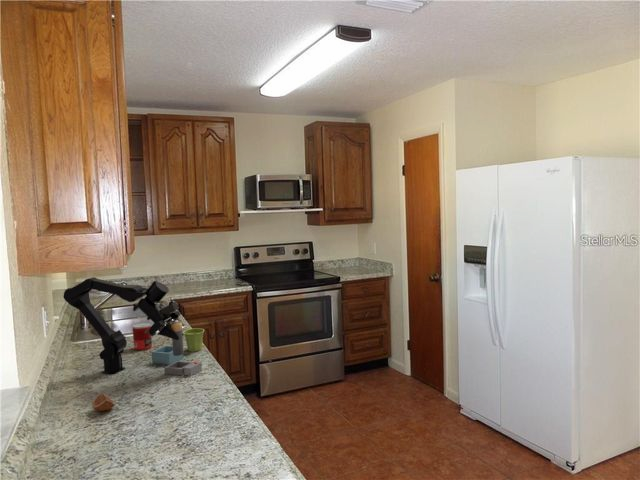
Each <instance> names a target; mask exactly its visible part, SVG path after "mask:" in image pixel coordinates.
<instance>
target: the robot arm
mask: <svg viewBox="0 0 640 480" xmlns="http://www.w3.org/2000/svg"><path fill="white" fill-rule="evenodd" d="M92 290H95V291H98V292H103V293H107V294H111V295H114V296H118V297H120V299H122V300H124V301H125V302H128V303H133V305H132V306H133V307H132V311H133V312H135V311H138V310H139V311H141V312H142V313H143V314H144V315H145V316H146V320H147V321H150V320H151V322H153V324H152V325H151V327H150V329H149V330H148V333H149V334H150V335H151V337H153V336H155V335H156V334H157V335H158V336H162V337H163V336H164V337H166V338H169V339H171V340H172V339H175V340H178V339H179V337H178V335H177V334H176V333H175V332H174V331H173V329H172V328H171V323H172V322H174V321H176V320H178V321H179V317H181V315H182V313H181V312H180V311H179V309H180V308H179V307H180V306H179V304H180V303H178V302H177V301H176V300H171V301H169V302H168V305H167V306H165V307H164V305H160V306H159V305H158V304H157V303H160V302H161V301H162V300H163V298H164V297H165V296H166V295H167V294H168V293H169V290H170V289H169V288H168V286H167V285H166V284H164V283H163V282H160V281H158V280H154V281H153V282H152V283H151V285H150V286H149V287H148V288H145V287H143V286H141V285H140V284H120V283H118V282H117V283H116V282H114V281H113V282H112V281H108V280H104V279H100V278H97V277H94V276H93V277H89V278H86V279H85V280H83V281H82V282H80V283H78V284H76V285H75V286H72V287H68V288H66V289H65V290H64V292H63V296H62V297H63V299H64V301H65V302H66V303H68V305H69V306H71V307H73V308H75V309H77V310H79V311H80V313H81V314H82V315H83V317H84V318H85V319H86V320H87V322H88V323H89V324H90V325H91V326H92V328H93V329H94V331H95V332H97V334H98V335H99V336H100V338H101V339H100V340H101V344H102V347H103V350H102V351H101V352H100V353H99V354H98V356H99V358H100V360H103V369H104V370H101V373H102V374H109V375H114V374H116V373H119V372H121V371H124V370H126V367H124V365H123V357H122V354H123V353H124V352H125V349H126V348H127V344H128V341H127V339H126V338H127V337H126V336H125V335H124V334H123V333H122V331H121V329H118V330H113V328H111V326H110V325H109V324H108V322H106V320H105V319H104V318H103V317H102V316H101V314H100V313H99V312H98V311H97V309H96V308H95V306H94V305H93V303H91V300H90V295H89V293H90V292H91V291H92ZM143 297H144V298H143ZM138 300H139V301H138ZM136 301H137V302H136ZM134 302H136V303H134ZM157 332H158V333H157ZM183 332H184V331H182V335H183V336H184V334H183Z"/></svg>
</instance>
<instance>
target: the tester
mask: <svg viewBox="0 0 640 480" xmlns="http://www.w3.org/2000/svg"><path fill="white" fill-rule="evenodd" d="M202 363H203V362H201V361H197V360H196V361H193V362H192V361H185V360H184V361H182V360H179V361H176V362H174V363H172V364H170V365H165V367H163V370H164V374H165V375H172V374H173V375H174V376H181V375H182V376H186V375H188V376H187V377H192V376H194V375H196V374H197V373H199V372H201V371H202V370H203V364H202ZM201 369H202V370H201ZM200 370H201V371H200ZM198 371H199V372H198ZM196 372H197V373H196ZM195 373H196V374H195ZM183 374H184V375H183ZM193 374H194V375H193Z"/></svg>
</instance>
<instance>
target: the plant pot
mask: <svg viewBox="0 0 640 480" xmlns="http://www.w3.org/2000/svg"><path fill="white" fill-rule="evenodd" d="M182 332H183V334H184V335H183V337H184V338H185V341H186V342H185V343H186V348H187V351H189V352H190V353H191V352H193V353H196V352H197V351H199V350H200V351H201V350H203V337H204V332H205V329H204V328H188V329H186V330H184V331H182Z"/></svg>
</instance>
